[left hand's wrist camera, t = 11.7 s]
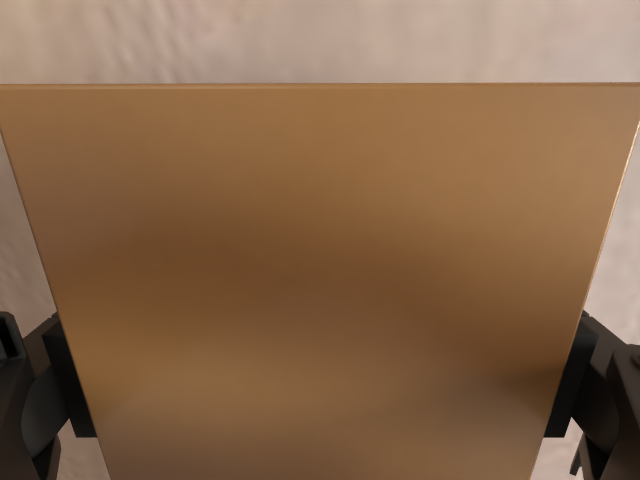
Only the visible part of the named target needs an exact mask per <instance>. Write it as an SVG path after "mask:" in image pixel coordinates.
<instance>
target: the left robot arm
mask: <svg viewBox="0 0 640 480" xmlns="http://www.w3.org/2000/svg"><path fill="white" fill-rule="evenodd" d="M571 417H572V418H573V419H574V420H575V422H576V423H577V424H578V425H579V427H580V428H581V429H582V431H583V434H582V437H581V440H580V443H579V445H578V448H577V451H576V453H575V456H574V459H573V462H572V464H571V469H570V474H572V475H575V476H576V474H577V471H578V469H579V467H581V466H582V471H583V477H584V480H640V345H634V344H625V343H624V342H623V341H622V340H621V339H619V338H618V337H617V336H616V335H614V334H613V333H612V332H611V331H609V330H608V329H607V328H606V327H604V326H603V325H602V324H601V323H599V322H598V321H597V320H596V319H594V318H593V317H589V314H588V313H587V312H586V311H584V310H583V311H582V314H581V318H580V321H579V324H578V327H577V330H576V334H575V337H574V340H573V343H572V346H571V350H570V353H569V356H568V359H567V362H566V366H565V369H564V372H563V375H562V379H561V382H560V385H559V388H558V391H557V395H556V398H555V401H554V404H553V407H552V411H551V414H550V417H549V420H548V423H547V427H546V430H545V433H544V436H543V438H564V436H565V434H566V431H567V428H568V425H569V422H570V419H571ZM69 418H70V421H71V424H72V427H73V430H74V433H75V435H76V437H97V435H96V432H95V428H94V425H93V422H92V419H91V416H90V413H89V410H88V406H87V403H86V400H85V397H84V394H83V391H82V388H81V384H80V381H79V378H78V375H77V372H76V369H75V366H74V362H73V359H72V356H71V353H70V350H69V347H68V344H67V340H66V337H65V334H64V331H63V328H62V325H61V322H60V318H59V315H58V312H56V313H54V314H53V315H52V318H48V319H47V320H46V321H44V322H43V323H42V324H41V325H40V326H38V327H37V328H36V329H35V330H33V331H32V332H31V333H30V334H28V335H27V336H26V337H25V338H23V339H22V337H21V334H20V331H19V329H18V326H17V323H16V320H15V318H14V315H12V314H10V313H8V312H1V311H0V480H56V478H57V472H58V466H59V460H60V454H61V444H60V440H59V437H58V434H57V433H58V432H59V430H60V429H61V428H62V427H63V425H64V424H65V423H66V422H67V420H68V419H69Z"/></svg>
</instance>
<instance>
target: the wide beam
mask: <svg viewBox="0 0 640 480" xmlns="http://www.w3.org/2000/svg"><path fill="white" fill-rule="evenodd" d="M639 128H640V82H627V83H263V84H0V133H1V136H2V139H3V142H4V145H5V148H6V152H7V155H8V158H9V161H10V164H11V167H12V170H13V174H14V177H15V180H16V183H17V186H18V189H19V193H20V196H21V199H22V202H23V205H24V208H25V211H26V215H27V218H28V221H29V224H30V227H31V230H32V233H33V237H34V240H35V243H36V246H37V249H38V252H39V255H40V259H41V262H42V265H43V268H44V271H45V274H46V277H47V281H48V284H49V287H50V290H51V293H52V296H53V299H54V303H55V306H56V309H57V312H58V315H59V318H60V322H61V325H62V328H63V331H64V334H65V337H66V340H67V344H68V347H69V350H70V353H71V356H72V359H73V362H74V366H75V369H76V372H77V375H78V378H79V381H80V384H81V388H82V391H83V394H84V397H85V400H86V403H87V406H88V410H89V413H90V416H91V419H92V422H93V425H94V428H95V432H96V435H97V438H98V441H99V444H100V447H101V451H102V454H103V457H104V460H105V463H106V466H107V469H108V473H109V476H110V479H111V480H530V478H531V475H532V472H533V468H534V465H535V462H536V459H537V456H538V452H539V449H540V446H541V443H542V439H543V436H544V433H545V430H546V427H547V423H548V420H549V417H550V414H551V411H552V407H553V404H554V401H555V398H556V395H557V391H558V388H559V385H560V382H561V379H562V375H563V372H564V369H565V366H566V362H567V359H568V356H569V353H570V350H571V346H572V343H573V340H574V337H575V334H576V330H577V327H578V324H579V321H580V318H581V314H582V311H583V308H584V305H585V302H586V298H587V295H588V292H589V289H590V285H591V282H592V279H593V276H594V273H595V269H596V266H597V263H598V260H599V257H600V253H601V250H602V247H603V244H604V241H605V237H606V234H607V231H608V228H609V225H610V221H611V218H612V215H613V212H614V208H615V205H616V202H617V199H618V196H619V192H620V189H621V186H622V183H623V180H624V176H625V173H626V170H627V167H628V164H629V160H630V157H631V154H632V151H633V147H634V144H635V141H636V138H637V135H638V131H639Z"/></svg>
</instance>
